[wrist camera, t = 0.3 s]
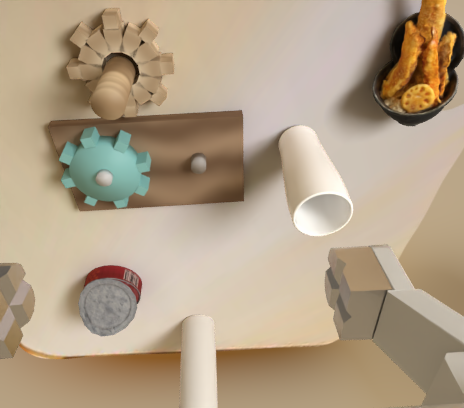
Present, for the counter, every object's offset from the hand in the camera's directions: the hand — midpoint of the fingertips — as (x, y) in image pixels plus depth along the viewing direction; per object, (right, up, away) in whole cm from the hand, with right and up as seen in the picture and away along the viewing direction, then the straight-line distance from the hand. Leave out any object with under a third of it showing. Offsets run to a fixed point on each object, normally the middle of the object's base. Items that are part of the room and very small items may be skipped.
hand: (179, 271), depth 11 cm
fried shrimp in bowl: (+22, +21, +35) cm, 47 cm away
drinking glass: (+10, +11, +44) cm, 46 cm away
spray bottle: (-5, -23, +72) cm, 75 cm away
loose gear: (-11, +18, +35) cm, 41 cm away
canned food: (-20, -12, +61) cm, 66 cm away
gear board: (-9, +8, +44) cm, 46 cm away
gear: (-15, +7, +42) cm, 45 cm away
